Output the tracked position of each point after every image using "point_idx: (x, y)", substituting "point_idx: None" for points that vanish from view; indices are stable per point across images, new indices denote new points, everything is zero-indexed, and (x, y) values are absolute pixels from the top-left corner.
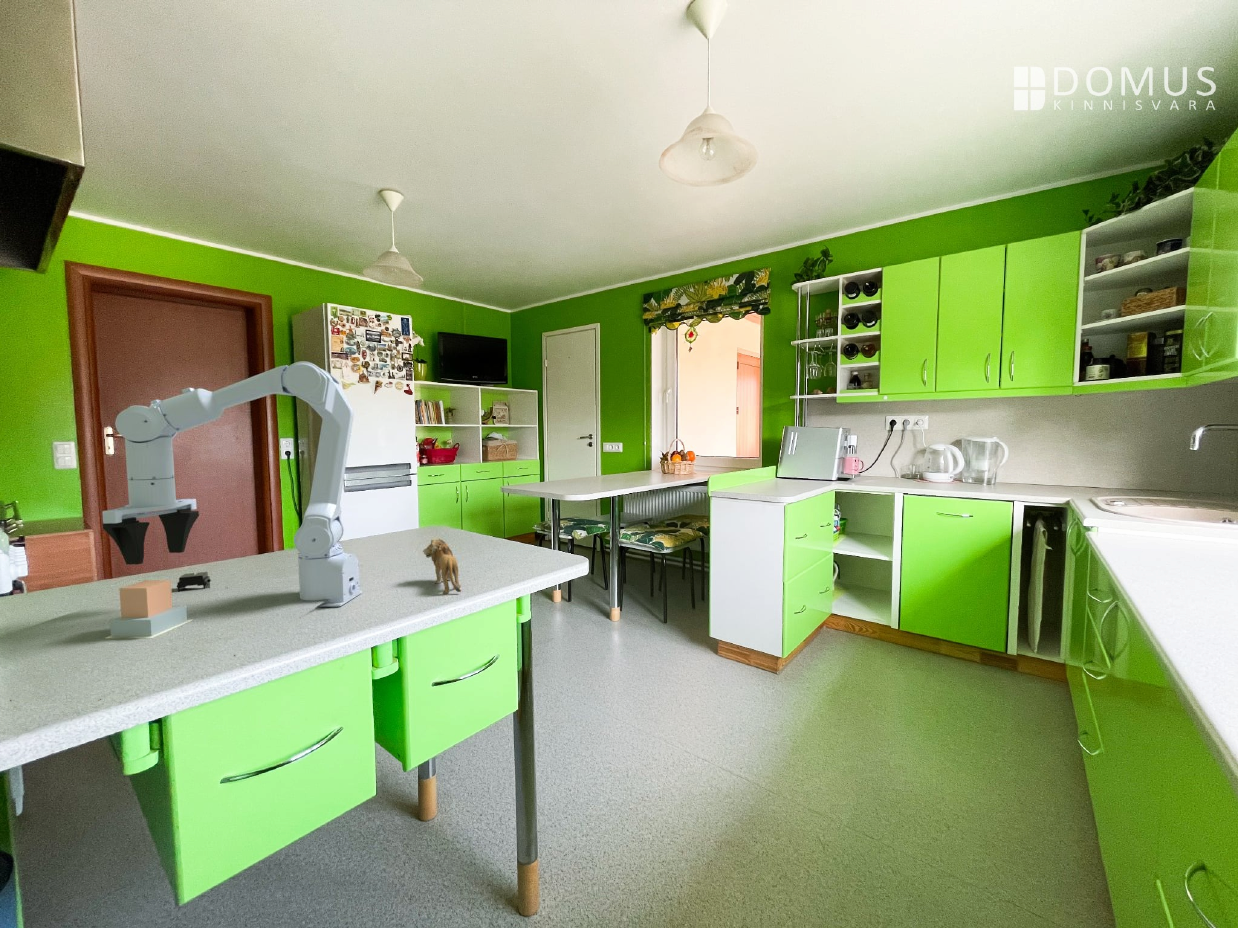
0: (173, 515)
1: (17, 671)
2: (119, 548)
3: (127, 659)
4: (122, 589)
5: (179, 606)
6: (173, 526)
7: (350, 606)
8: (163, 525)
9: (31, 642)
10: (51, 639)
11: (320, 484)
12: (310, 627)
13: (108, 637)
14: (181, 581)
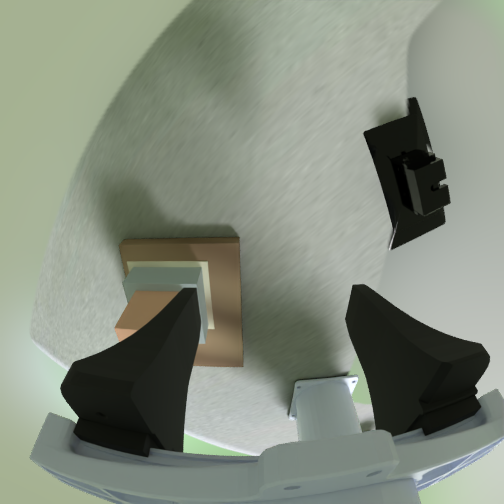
0: (407, 417)
1: (60, 218)
2: (154, 317)
3: (113, 318)
4: (117, 331)
5: (200, 336)
6: (390, 372)
7: (291, 421)
8: (409, 339)
9: (136, 101)
10: (149, 121)
11: None
12: (225, 418)
13: (130, 266)
14: (409, 173)
